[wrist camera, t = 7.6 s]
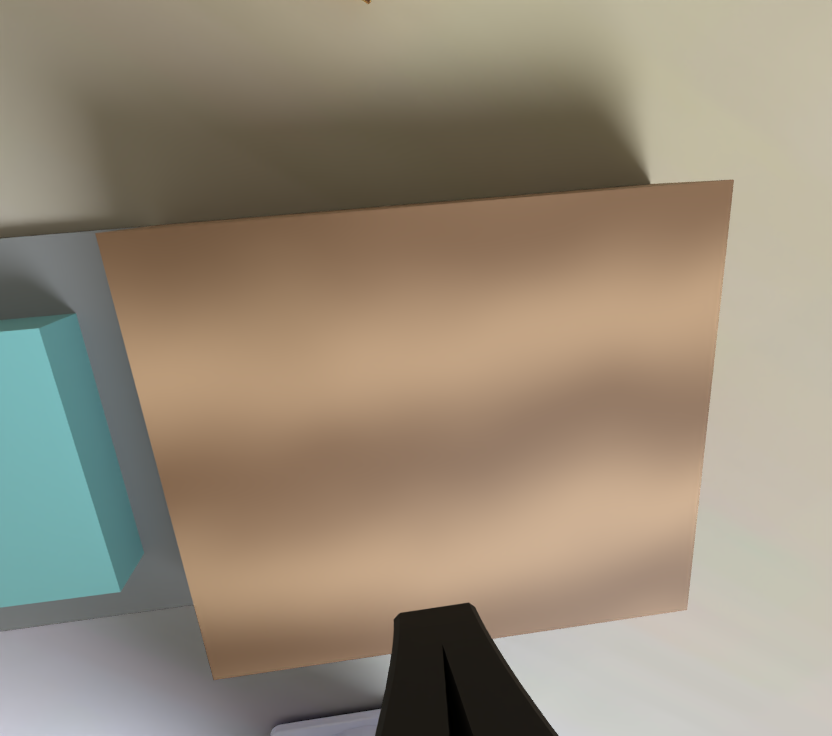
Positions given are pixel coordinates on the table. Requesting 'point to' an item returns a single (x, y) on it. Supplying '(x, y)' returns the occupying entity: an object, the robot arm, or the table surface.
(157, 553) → the grey flat slab
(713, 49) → the table surface
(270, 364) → the brown wooden flat block
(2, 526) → the aqua rectangular block
